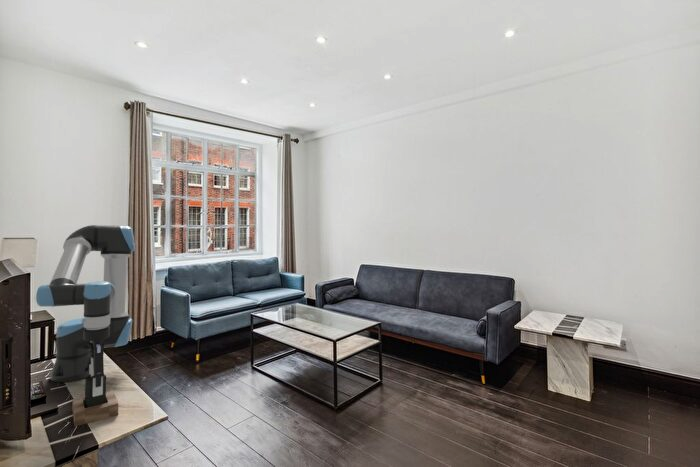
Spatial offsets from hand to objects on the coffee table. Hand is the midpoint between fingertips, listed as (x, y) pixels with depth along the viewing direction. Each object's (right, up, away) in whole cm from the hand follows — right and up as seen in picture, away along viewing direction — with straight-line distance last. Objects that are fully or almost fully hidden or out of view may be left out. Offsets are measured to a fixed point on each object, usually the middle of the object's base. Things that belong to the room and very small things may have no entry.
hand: (95, 388), depth 123 cm
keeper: (0, -9, 0) cm, 9 cm away
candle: (0, -9, 0) cm, 9 cm away
